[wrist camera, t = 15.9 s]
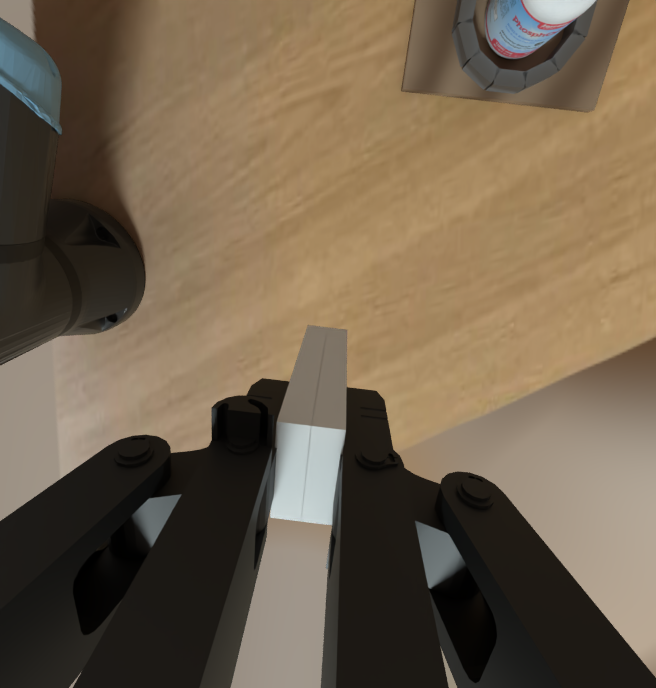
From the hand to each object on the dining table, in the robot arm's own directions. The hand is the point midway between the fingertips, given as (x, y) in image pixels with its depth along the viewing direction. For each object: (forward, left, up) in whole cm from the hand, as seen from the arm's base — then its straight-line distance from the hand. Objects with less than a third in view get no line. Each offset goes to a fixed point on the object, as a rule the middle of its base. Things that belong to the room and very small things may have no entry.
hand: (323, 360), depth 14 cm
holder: (+13, +22, -29) cm, 39 cm away
